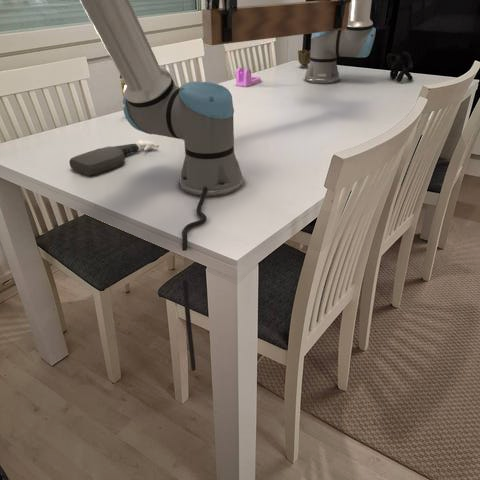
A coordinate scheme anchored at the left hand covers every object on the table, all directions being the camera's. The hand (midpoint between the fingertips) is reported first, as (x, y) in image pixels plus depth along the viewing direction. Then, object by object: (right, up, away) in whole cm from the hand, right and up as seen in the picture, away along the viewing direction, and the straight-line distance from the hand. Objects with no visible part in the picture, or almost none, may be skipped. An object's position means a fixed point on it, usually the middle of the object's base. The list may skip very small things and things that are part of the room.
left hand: (222, 40), depth 122 cm
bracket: (+9, +16, +78) cm, 80 cm away
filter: (-33, -11, +37) cm, 50 cm away
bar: (+17, +6, +10) cm, 21 cm away
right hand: (+34, +13, +20) cm, 42 cm away
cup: (+38, +33, +105) cm, 117 cm away
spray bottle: (-29, -32, +3) cm, 44 cm away
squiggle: (+77, +17, +78) cm, 111 cm away
